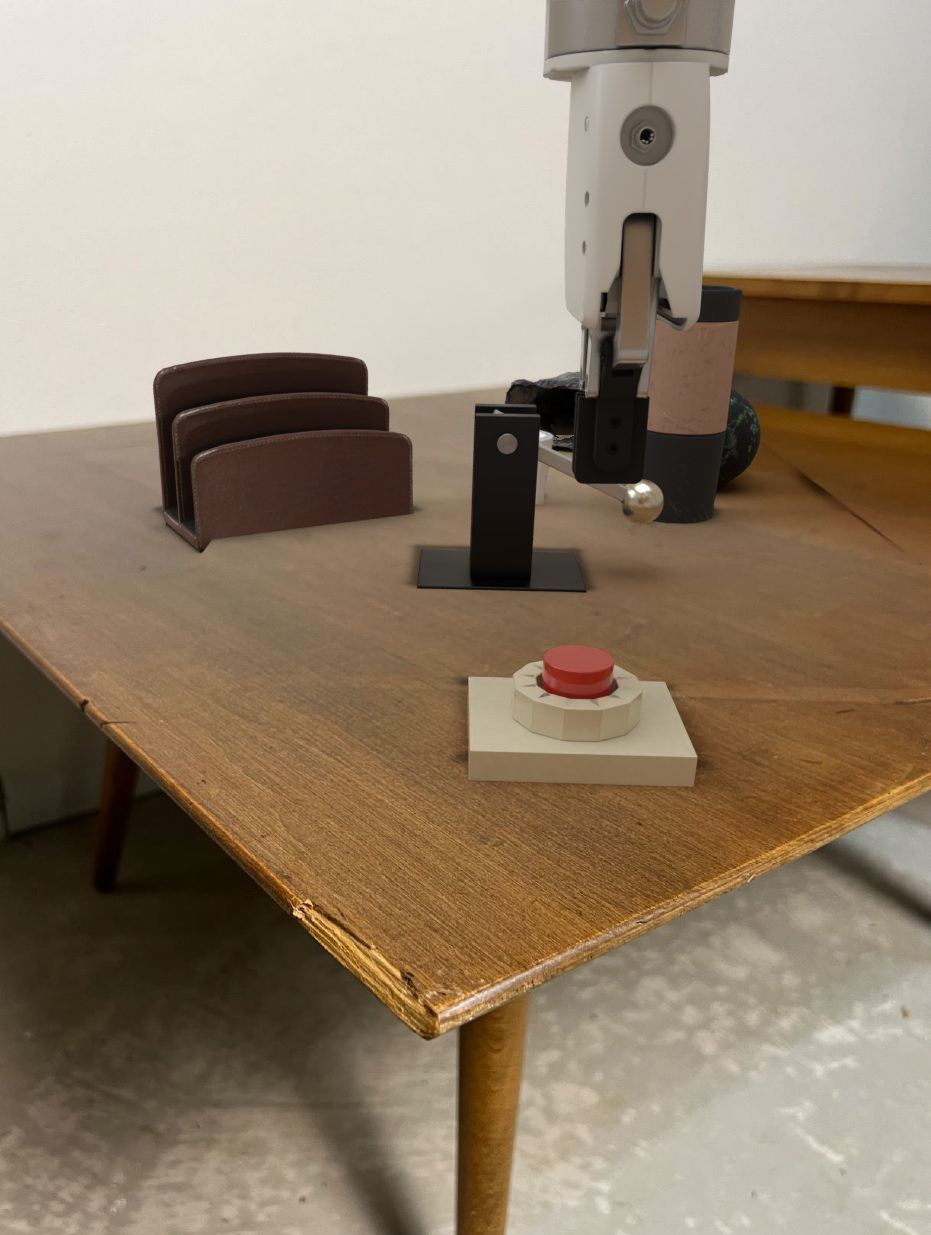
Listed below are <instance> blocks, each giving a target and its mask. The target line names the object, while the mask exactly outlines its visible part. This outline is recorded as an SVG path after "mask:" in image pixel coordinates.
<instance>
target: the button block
mask: <svg viewBox="0 0 931 1235" xmlns="http://www.w3.org/2000/svg"><path fill="white" fill-rule="evenodd" d="M542 670H543V659H542V660H539V661H534V662H529V663H526V664H525V665H524V666H522V667H521V668H520V669H518V670H517V671H515V672H514V673H513V675H512V677H502V676H501V677H500V676H499V677H497V676H468V677H467V698H466V699H467V701H466V702H467V704H466V706H467V708H466V709H467V713H466V714H467V761H468V762H467V768H468V769H467V770H468V772H467V773H468V774H467V776H468V777H467V778H468V781H473V782H474V781H475V782H476V781H477V782H478V781H479V782H506V783H507V782H508V783H509V782H510V783H511V782H512V783H542V784H543V783H544V784H547V783H548V784H575V785H577V784H579V785H582V784H583V785H611V786H612V785H613V786H615V785H617V786H645V787H647V786H648V787H677V788H679V787H682V788H683V787H684V788H694V787H695V780H696V774H697V765H698V758H699V757H698V754H697V752H696V750H695V747H694V745H693V743H692V741H691V738H690V736H689V734H688V731H687V729H686V727H685V725H684V722H683V720H682V717H681V715H680V712H679V710H678V709H677V708H678V707H677V706H676V703H675V701H674V699H673V697H672V695H671V692H670V691H669V688H668V685H667V683H666V681H654V680H651V681H650V680H639V678H638V677H637V675H634V674H633V673H631V672H629V671H627V670H626V669H624V668H622V667H620V666H618V665H616V664H614V673H613V683H612V692H611V694H610V696H605V697H601V698H597V699H569V698H565V697H561V696H557V695H553V694H549V693H548V692H546V691H545V690H543V689H542V687H541V685H542Z"/></svg>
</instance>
